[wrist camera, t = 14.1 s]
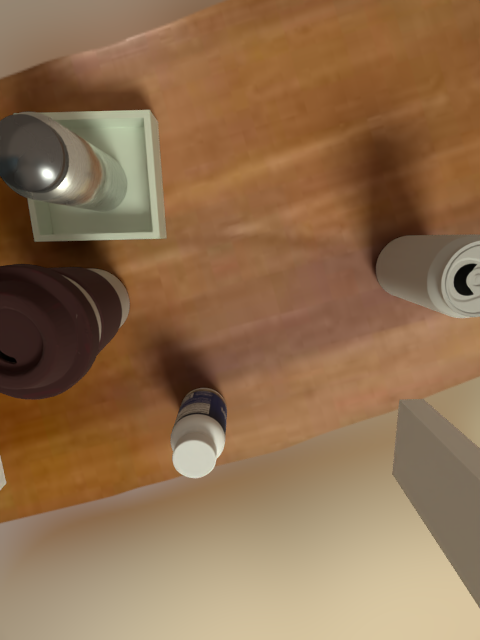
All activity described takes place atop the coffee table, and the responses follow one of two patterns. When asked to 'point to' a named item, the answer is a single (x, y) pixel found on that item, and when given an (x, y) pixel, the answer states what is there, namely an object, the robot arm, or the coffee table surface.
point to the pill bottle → (199, 432)
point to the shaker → (58, 164)
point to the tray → (141, 171)
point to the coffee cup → (54, 325)
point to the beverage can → (434, 272)
